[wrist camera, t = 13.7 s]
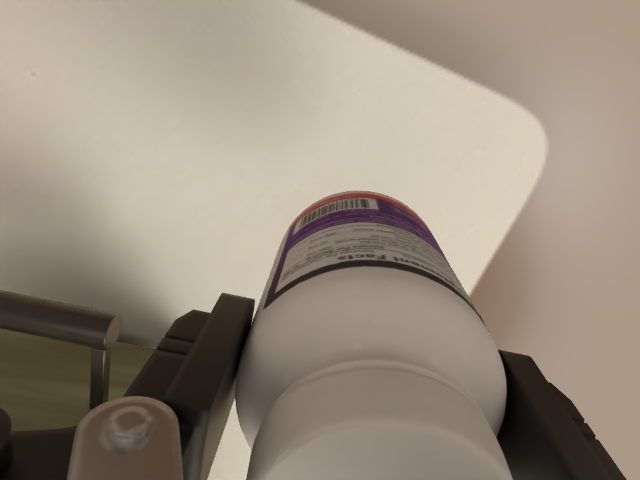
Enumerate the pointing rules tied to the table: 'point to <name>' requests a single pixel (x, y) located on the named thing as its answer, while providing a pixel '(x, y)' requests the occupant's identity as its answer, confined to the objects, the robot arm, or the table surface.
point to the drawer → (60, 361)
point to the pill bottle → (368, 355)
